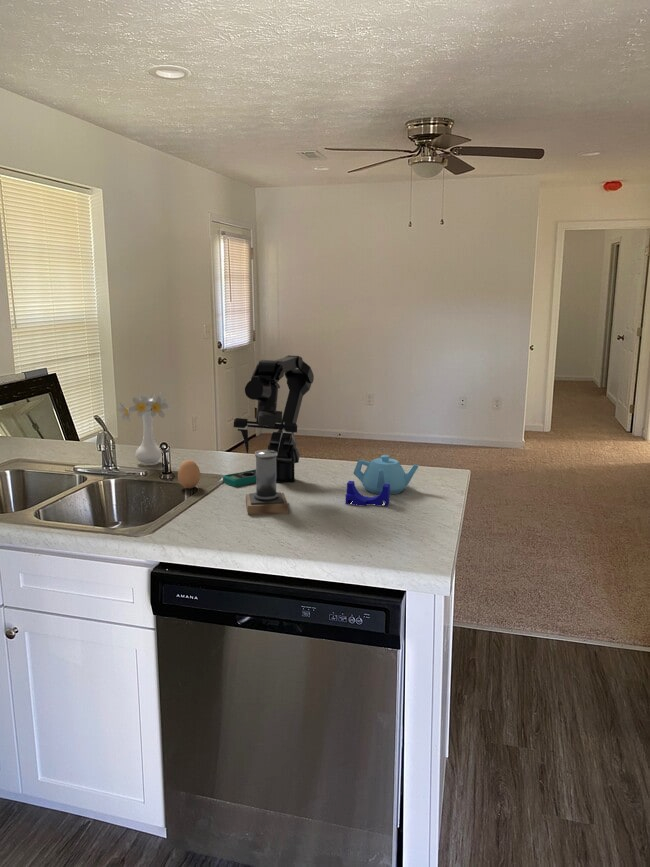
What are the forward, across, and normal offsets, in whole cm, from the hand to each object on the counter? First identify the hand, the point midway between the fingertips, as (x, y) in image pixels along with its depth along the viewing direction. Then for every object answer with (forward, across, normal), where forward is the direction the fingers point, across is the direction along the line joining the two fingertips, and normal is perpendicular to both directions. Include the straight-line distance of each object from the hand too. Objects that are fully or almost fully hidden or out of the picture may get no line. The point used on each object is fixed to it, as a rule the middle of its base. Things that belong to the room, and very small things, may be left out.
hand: (262, 454), depth 199 cm
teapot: (+8, +39, +4) cm, 40 cm away
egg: (+13, -21, +10) cm, 27 cm away
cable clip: (+12, +31, -10) cm, 34 cm away
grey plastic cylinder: (+12, +2, -11) cm, 16 cm away
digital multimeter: (+10, -4, +17) cm, 20 cm away
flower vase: (+8, -38, +40) cm, 56 cm away
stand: (+14, +2, -11) cm, 18 cm away
